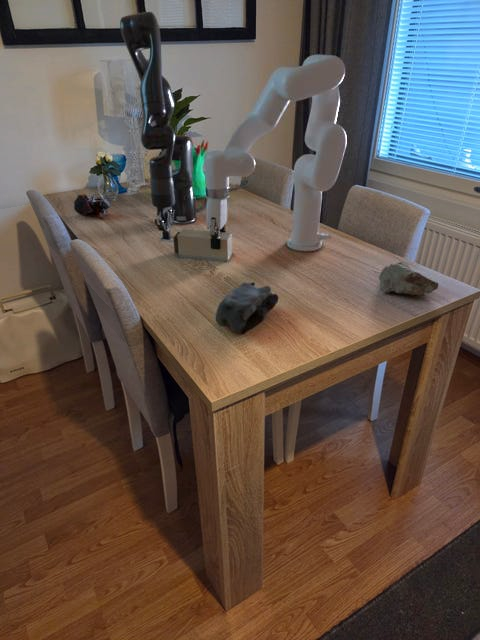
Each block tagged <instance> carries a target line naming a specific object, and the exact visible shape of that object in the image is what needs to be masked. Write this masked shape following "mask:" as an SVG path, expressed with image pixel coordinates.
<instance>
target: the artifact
mask: <svg viewBox="0 0 480 640" xmlns="http://www.w3.org/2000/svg"><path fill="white" fill-rule="evenodd" d="M378 279H379V281H380V282H379V286H380V290H382V292H383V293H384V294H388V293H390V292H395V294H407V295H412V296H422V295H424V294H431V293H432V292H434V291H435V290H438V287H439V282H436V281H434V280H432V279H430V278H429V277H427V276H424V275H422V274H421V273H420V272H417V271H415V270H414V269H412V268H411V267H410V266H409V265H407V264H406V263H405V262H404V261H399V262H397V263H395V264H392V263H390V264H389V265H386V266H385V267H384V268H382V270H381V272H380V274H379V276H378Z"/></svg>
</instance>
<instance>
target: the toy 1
mask: <svg viewBox="0 0 480 640" xmlns="http://www.w3.org/2000/svg"><path fill="white" fill-rule="evenodd" d="M95 197H96V195H95V194H90V196H87V195H86V194H78V195H77V197H76V198H75V199H74V201H73V209H74V211H75V212H76V213H77V214H78V215H80V216H82V217H88V218H93V219H99V220H100V219H101V220H102V219H103V218H102V216H101V214H102V215H103V216H107V215H108V214H109V210H108V209H109V207H110V205H111V203H110V202H109V201H108V200H107V199H106V198H100V197H98V198H95Z"/></svg>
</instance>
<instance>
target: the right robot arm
mask: <svg viewBox="0 0 480 640" xmlns="http://www.w3.org/2000/svg"><path fill="white" fill-rule="evenodd" d="M345 74H346V66H345V63H344V61H343V59H341V58H340V57H339V56H336V55H332V54H312V55H310V56H308V57H307V58H305V59H304V61H303V63H302V65H300V66H280V67H278V68H276V69H275V70H274V71H273V72H272V74H271V76H270V77H269V79H268V81H267V82H266V85H265V86H264V88H263V90H262V92H261V94H260V95H259V97H258V99H257V101H256V102H255V105H254V107H253V108H252V110H251V112H250V113H249V114H248V115H247V116H246V117H245V119H244V120H243V121H242V122H241V123H240V124H239V126H237V128H236V129H235V130H234V132H233V133H232V135H231V137H230V138H229V141H228V143H227V145H226V147H225V148H224V151H222V150H210V151H207V153H206V154H205V156H204V163H203V166H204V175H205V192H206V196H205V199H206V200H207V204H206V210H205V211H206V215H205V217H206V221H205V226H206V227H205V228H206V229H207V230H209V231H210V238H211V249H218V250H220V238H219V234H220V232H225V233H227V232H226V229H227V227H226V224H227V222H228V200H227V199H229V198H230V191H229V189H230V177H235V178H236V177H237V178H243V177H248V176H250V175H251V174H252V173H253V172H254V171H255V169H256V161H255V158H254V157H253V155H252V154H251V153H250V152H249V151H250V149H251V148H252V146H253V145H254V143H255V142H256V141H257V140H258V139H259V138H260V137H262V136H263V135H265V134H267V133H269V132H271V131H273V130H274V129H275V128H276V127H277V125H278V123H279V121H280V119H281V118H282V116H283V114H284V112H285V111H286V109H287V107H288V105H289V104H290V102H299V101H302V100H306V99H309V98H311V99H312V100H311V106H310V107H311V108H310V112H309V116H308V121H307V125H306V130H305V133H304V143H305V145H306V147H307V148H308V149H310V150H312V151H314V152H315V154H312V153H307V154H302V155H301V156H300V157H299V158H297V159H296V162H295V163H294V167H293V183H294V195H293V209H292V210H293V212H292V222H291V223H292V225H291V237H289V238H288V239H287V240H286V246H287V247H288V248H290V249H291V250H294V251H297V252H313V251H318V250H319V249H321V247H322V243H323V242H322V241H323V240H325V241H327V240H330V239H331V234H330V233H326V234H325V232H320V231H319V229H320V222H321V212H322V211H321V210H322V201H323V192H327V191H329V190H330V189H332V188H333V187H334V185H335V183H337V179H338V177H339V174H340V171H341V168H342V167H341V166H342V163H343V159H344V155H345V152H346V148H347V134H346V131H345V129H344V128H343V127H342V126H341V124H338V123H337V118H338V114H339V113H338V112H339V108H340V103H341V100H340V99H341V96H340V90H339V85H340V84H341V83H342V82H343V80H344V77H345ZM216 232H217V233H216Z"/></svg>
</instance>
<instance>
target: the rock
mask: <svg viewBox="0 0 480 640" xmlns="http://www.w3.org/2000/svg"><path fill="white" fill-rule="evenodd" d="M255 285H256V283H255V282H254V281H253V282H252V281H251V282H243V283H241V284H240V285H239V286H236V287H235V288H234V289H233V290H231V292H229V293H227V294H226V296H224V297H223V298H222V300H221V301H220V303H219V304H218V305H217V309H216V313H215V322H216V323H217V325H218V326H220V327H227V326H228V328H229V329H230V330H232V332H235V333H237V334H238V333H239V334H240V335H245V333H247V332H249V331H251V330H252V329H254V328H255V327H257V326H258V325H259V324H261V323H262V322H263V321H264V320H265V319H266V318H267V317H266V316H267V315H268V313H269V312H270V311H272V310H273V309H274V308H275V306H276V305H277V303H278V302H279V295H278V294H277V293H273V292H272V288H271V286H269V285H264V286H261V287H255Z"/></svg>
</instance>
